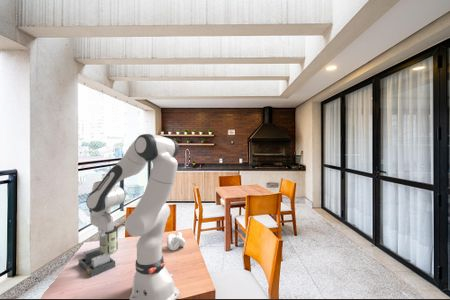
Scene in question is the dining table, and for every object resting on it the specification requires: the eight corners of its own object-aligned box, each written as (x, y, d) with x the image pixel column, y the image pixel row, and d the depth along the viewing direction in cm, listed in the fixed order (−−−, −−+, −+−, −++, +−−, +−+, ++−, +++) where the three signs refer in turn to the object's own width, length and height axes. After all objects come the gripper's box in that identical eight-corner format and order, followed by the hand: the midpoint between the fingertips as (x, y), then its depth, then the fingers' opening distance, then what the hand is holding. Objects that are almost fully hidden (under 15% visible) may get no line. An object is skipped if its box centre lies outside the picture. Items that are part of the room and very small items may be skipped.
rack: (115, 266, 115) (115, 254, 115) (90, 277, 105) (90, 263, 105) (101, 256, 126) (101, 244, 125) (77, 265, 116) (77, 252, 116)
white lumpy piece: (166, 244, 142) (166, 231, 142) (184, 242, 145) (184, 229, 145) (166, 252, 131) (166, 238, 131) (185, 250, 134) (185, 236, 134)
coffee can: (106, 246, 138) (106, 225, 138) (121, 247, 137) (121, 226, 137) (95, 254, 128) (95, 231, 127) (111, 255, 127) (111, 232, 126)
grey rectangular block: (110, 265, 114) (110, 254, 114) (93, 272, 108) (93, 260, 108) (107, 263, 116) (107, 252, 116) (91, 270, 110) (91, 258, 110)
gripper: (116, 212, 109) (117, 238, 109) (100, 205, 121) (100, 229, 122) (104, 215, 104) (104, 243, 104) (87, 208, 116) (88, 233, 117)
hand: (101, 235), depth 113 cm, fingers closed
